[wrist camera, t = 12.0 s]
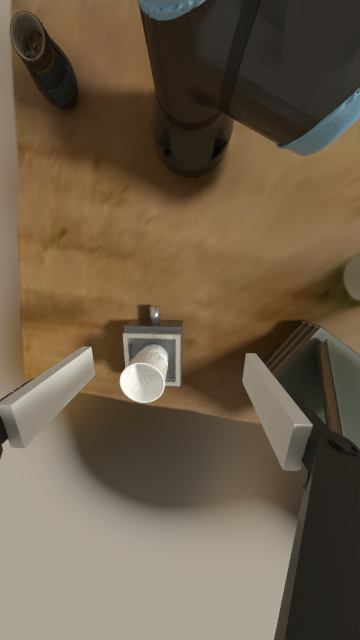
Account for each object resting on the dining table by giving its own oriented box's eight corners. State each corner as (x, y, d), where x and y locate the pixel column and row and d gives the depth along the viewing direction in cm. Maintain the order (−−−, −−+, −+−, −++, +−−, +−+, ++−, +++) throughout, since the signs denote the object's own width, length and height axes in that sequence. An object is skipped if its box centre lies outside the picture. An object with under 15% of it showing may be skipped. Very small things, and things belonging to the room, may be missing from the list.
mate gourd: (70, 59, 31) (18, -39, 22) (91, 105, 33) (51, 33, 23) (40, 81, 32) (-23, -3, 23) (61, 125, 34) (11, 64, 24)
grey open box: (131, 304, 42) (119, 309, 35) (183, 305, 41) (181, 310, 34) (135, 371, 46) (125, 388, 39) (182, 373, 46) (181, 391, 38)
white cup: (142, 375, 40) (127, 406, 30) (132, 345, 38) (113, 367, 28) (174, 368, 39) (169, 398, 29) (165, 338, 37) (157, 358, 27)
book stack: (369, 368, 43) (604, 484, 19) (313, 418, 47) (444, 565, 23) (302, 319, 41) (468, 376, 17) (250, 376, 45) (320, 488, 21)
